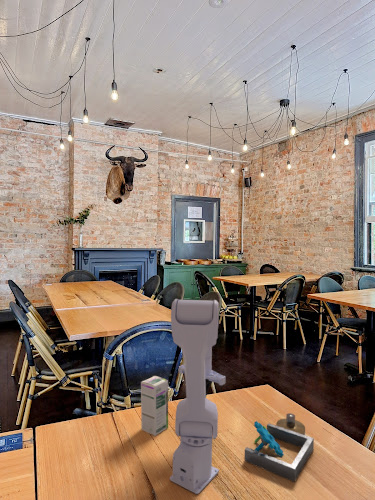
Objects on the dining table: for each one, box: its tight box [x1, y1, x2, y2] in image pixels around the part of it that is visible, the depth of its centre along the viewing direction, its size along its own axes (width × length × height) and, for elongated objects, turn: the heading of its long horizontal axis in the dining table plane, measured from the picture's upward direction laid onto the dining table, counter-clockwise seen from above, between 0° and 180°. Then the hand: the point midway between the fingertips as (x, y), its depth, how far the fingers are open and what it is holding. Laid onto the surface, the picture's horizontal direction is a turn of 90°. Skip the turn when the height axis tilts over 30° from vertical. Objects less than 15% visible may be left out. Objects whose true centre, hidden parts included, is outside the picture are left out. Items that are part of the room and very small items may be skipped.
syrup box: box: [140, 375, 169, 437], centre depth 101 cm, size 6×6×14 cm
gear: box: [253, 420, 285, 458], centre depth 91 cm, size 11×6×10 cm
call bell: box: [275, 412, 306, 435], centre depth 100 cm, size 8×8×5 cm
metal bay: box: [244, 422, 315, 483], centre depth 89 cm, size 15×13×3 cm
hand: (201, 403), depth 97 cm, fingers closed
